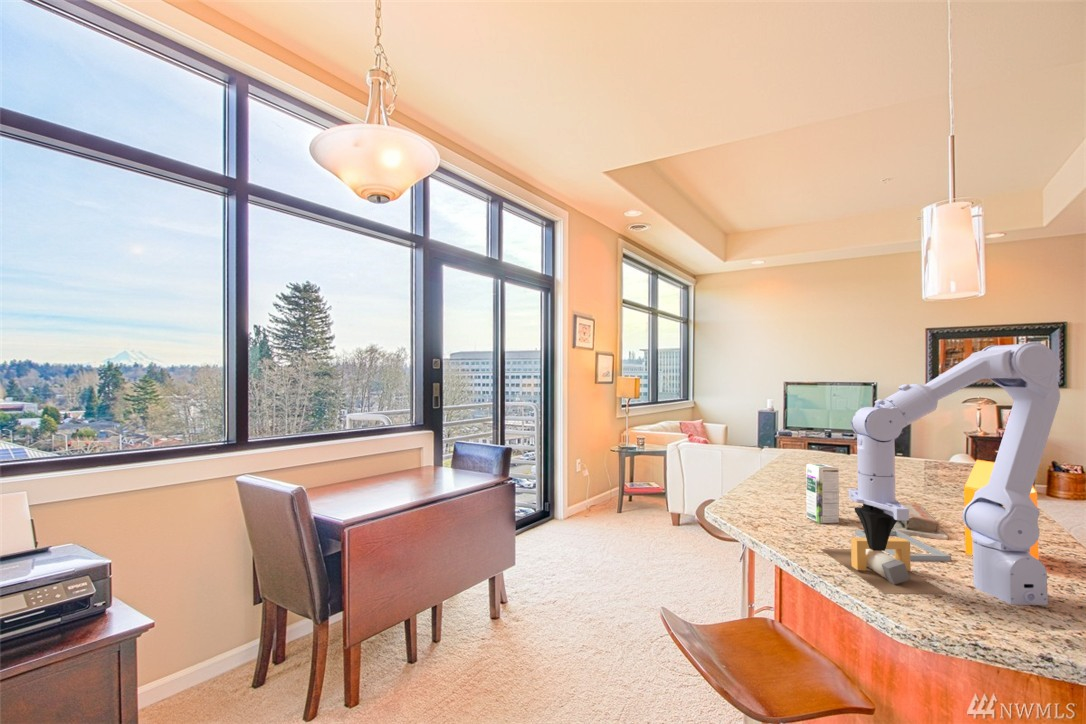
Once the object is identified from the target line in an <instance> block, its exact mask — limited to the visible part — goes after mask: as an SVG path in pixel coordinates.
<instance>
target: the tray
mask: <svg viewBox="0 0 1086 724" xmlns="http://www.w3.org/2000/svg"><path fill="white" fill-rule="evenodd" d="M854 532H855V533H854V535H855V536H857V537H858V538H866V535H865V531H864V529H855V531H854ZM889 537H896V538H904V539H906V540H908V541H910V545H911V544H912V545H913V546H916V547H917V548H919V549H921V550H924V551H926V552H928V553H929V554H928V553H927V554H926V553H924V554H923V553H922V554H921V553H910V562H952V555H950V554H949V553H946V552H944V551H942V550H940V549H938V548H935V547H933V546H931V545H929V544H927V543H925V542H923V541H921V540H919V539H916V538H914V537H913V536H908V535H906V534H904V533H902V532H900V531H898V530H894V529H892V531H891V533H890V535H889ZM884 552H885V553H887V554H888V555H890V556H892V557H895V549H885V551H884Z"/></svg>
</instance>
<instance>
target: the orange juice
mask: <svg viewBox="0 0 1086 724" xmlns="http://www.w3.org/2000/svg"><path fill="white" fill-rule="evenodd" d="M994 464H995V461H989V460H988V461H987V460H983V459H976V461H975V463H974V465H973V468H972V470H971V471H970V474H969V477H968V478H967V480H966V481H965V482H966V483H965V485H963V502H964V503H963V504H964V508H965V507H966V505H967V504H968V503H970V502H971V500H972V499H973V497H974V494H975V492H976V491H977V490H979V489H980V488H982V487H984V486H986V485H987V484H988V483H989V479H990V476H991V473H992V470H993V467H994ZM1030 498H1031V499H1032V501H1033V502H1034V504H1035V505H1036V507H1037V508H1038V492H1037V490H1036V488H1035V486H1034V485H1033V487H1032V490H1031V493H1030ZM1003 507H1004V506H1003ZM964 540H965V543H964V544H965V548H964V550H965V554H966V553H967V554H966V555H968V554H970V555H969V556H971V555H973V539H972V537H971V530H970V529H968V528H967V527H966V525H965V524H964ZM1030 554H1031V555H1032V556H1033V557H1034V558H1036V559H1038V560H1039V559H1040V558H1039V554H1040V553H1039V540H1038V541H1037V542H1036V543H1035V545H1033V546H1032V547H1031V548H1030ZM1039 561H1040V560H1039Z"/></svg>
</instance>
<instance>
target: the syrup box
mask: <svg viewBox="0 0 1086 724" xmlns="http://www.w3.org/2000/svg"><path fill="white" fill-rule="evenodd" d="M805 467H806V470H805V474H806V475H805V476H806V478H805V479H806V480H805V481H806V485H805V487H806V488H805V489H806V494H805V495H806V496H805V497H806V504H805V506H806V516H805V517H806V518H807V519H810V520H812V521H813V522H815V523H818V524H836V523H837V524H838V523H840V516H839V515H840V498H839V497H840V496H839V494H840V493H839V492H840V491H839V490H840V484H839V483H840V482H839V481H840V480H839V478H840V477H839V473H840V472H839V471H840V470H839V467H836V466H832V465H829V464H825V463H816V462H815V463H807V464H806V466H805Z"/></svg>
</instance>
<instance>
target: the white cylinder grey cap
mask: <svg viewBox="0 0 1086 724" xmlns="http://www.w3.org/2000/svg"><path fill="white" fill-rule="evenodd" d="M866 566H867V567H869V568H870V569H872V570H873V571H875V572H876V573H878V574H879V575H881V576H883V577H884V578H886V579H887V580H888V581H889V582H891V583H892V584H894V585H895V584H898V583H901V582H904V581H907V580H910V577H909V574H908V571H907V569H906V566H905V563H903V562H901V561H900V560H898V559H895V557H894V556H892V555H890V554H888V553H887V552H885V551H874V550H872V549H866Z"/></svg>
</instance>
